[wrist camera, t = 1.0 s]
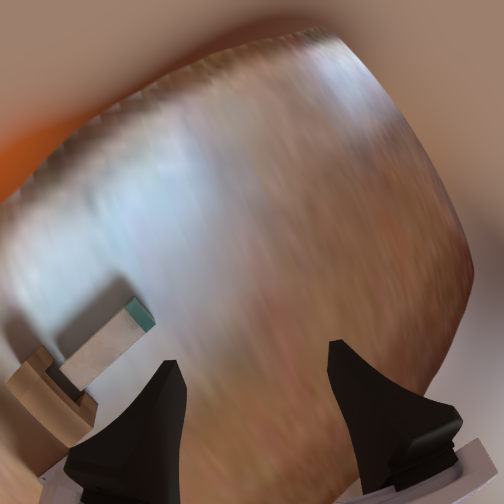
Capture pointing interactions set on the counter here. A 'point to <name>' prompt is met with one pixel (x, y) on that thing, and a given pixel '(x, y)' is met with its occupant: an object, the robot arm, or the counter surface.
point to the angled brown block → (52, 400)
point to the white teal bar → (107, 343)
